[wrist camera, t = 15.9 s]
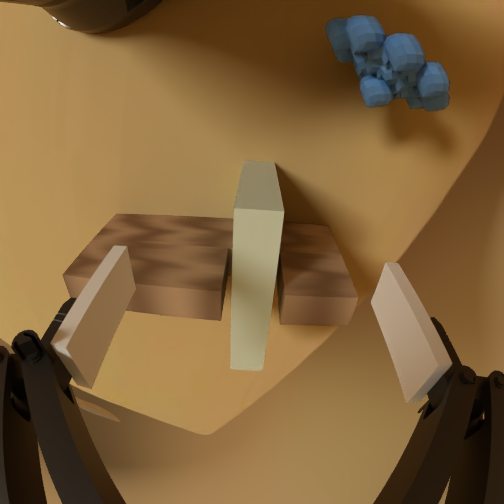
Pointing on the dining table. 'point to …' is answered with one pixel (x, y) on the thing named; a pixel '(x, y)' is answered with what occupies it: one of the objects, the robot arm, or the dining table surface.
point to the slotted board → (218, 268)
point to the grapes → (388, 64)
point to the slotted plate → (254, 262)
